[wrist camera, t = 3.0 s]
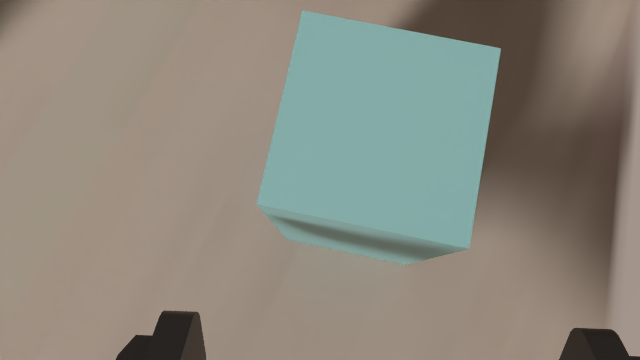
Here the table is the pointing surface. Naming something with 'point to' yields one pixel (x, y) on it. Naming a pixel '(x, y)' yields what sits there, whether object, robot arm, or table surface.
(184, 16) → the table surface
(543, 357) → the table surface
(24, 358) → the table surface
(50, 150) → the table surface
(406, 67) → the pillar
